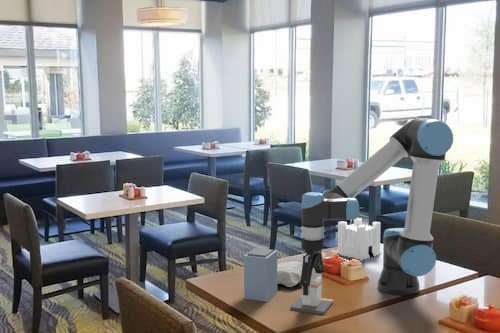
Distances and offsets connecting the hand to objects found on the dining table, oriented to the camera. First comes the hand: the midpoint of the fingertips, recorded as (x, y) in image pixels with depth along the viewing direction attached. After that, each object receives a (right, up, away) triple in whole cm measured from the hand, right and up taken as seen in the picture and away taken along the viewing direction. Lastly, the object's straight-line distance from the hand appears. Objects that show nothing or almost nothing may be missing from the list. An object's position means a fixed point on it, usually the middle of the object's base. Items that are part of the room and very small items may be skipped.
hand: (312, 297), depth 201 cm
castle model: (+28, +5, +63) cm, 69 cm away
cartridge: (0, -2, 0) cm, 2 cm away
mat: (0, -3, 0) cm, 3 cm away
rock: (-7, 0, +26) cm, 27 cm away
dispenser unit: (-18, -2, +11) cm, 21 cm away
